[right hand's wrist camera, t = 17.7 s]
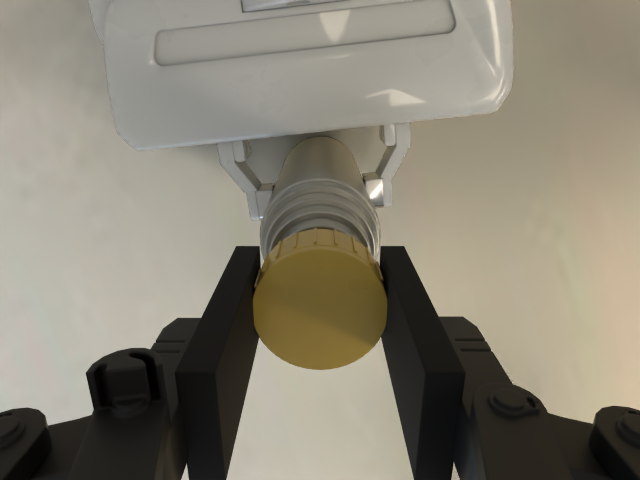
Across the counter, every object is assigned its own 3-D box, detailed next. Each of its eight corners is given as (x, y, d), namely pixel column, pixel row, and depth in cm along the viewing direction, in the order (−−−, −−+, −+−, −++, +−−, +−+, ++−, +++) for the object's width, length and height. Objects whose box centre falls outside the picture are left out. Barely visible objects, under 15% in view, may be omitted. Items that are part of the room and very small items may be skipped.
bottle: (278, 141, 31) (218, 234, 13) (353, 131, 30) (400, 213, 12) (289, 213, 32) (250, 383, 14) (360, 204, 32) (410, 367, 14)
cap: (280, 351, 16) (275, 385, 14) (239, 246, 14) (228, 269, 13) (395, 322, 15) (404, 353, 13) (363, 211, 14) (370, 230, 12)
